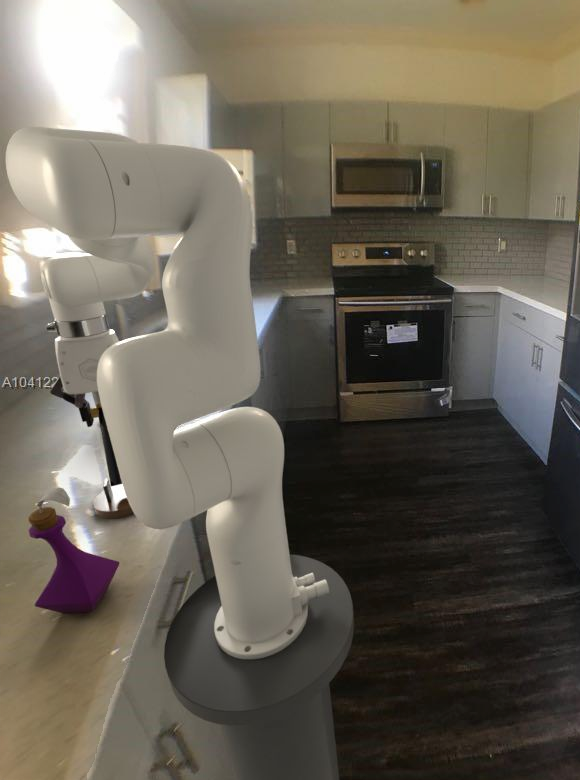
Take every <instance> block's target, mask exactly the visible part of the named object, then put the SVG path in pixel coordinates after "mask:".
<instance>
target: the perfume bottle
mask: <svg viewBox="0 0 580 780" xmlns="http://www.w3.org/2000/svg"><path fill="white" fill-rule="evenodd" d="M45 501H54V502H57V503H60V504H62V505H64V506H67V507H70V502H71V498H70V496H69V494H68V492H67V491H66V489H64V488H63V487H60V486H59V487H55V488H53V489H52V490H50V491H49V492H47V493H46V494H44V495H43V496H42V497H41V498H40V500H39V501H38V502H37V503H36V506H37V507H38V508H37V509H36V510H34V511H32V512H31V514H30V515H29V516H28V518H27V520H28V522H29V524H30V525H31V526H30V527H29V528H28V534H29V537H30V538H32V539H40V540H41V539H42V540H43V541H46V543H47V544H48V545H49V546H50V547H51V549H52V550H53V552H54V554H55V558H56V566H55V568H54V569H53V573H52V574H51V577H50V578H49V580H48V582H47V583H46V585H45V587H44V589H43V590H42V592H41V593H40V595H39V596H38V598H37V599H36V601H35V603H34V607H36V608H39V609H44V610H48V611H52V612H56V613H61V614H74V613H75V614H77V613H91V612H93V611H94V610H95V609H96V607H97V606H98V604H99V602H100V601H101V600H102V598H103V597H104V595H105V594H106V592H107V591H108V589H109V588H110V585H111V583H112V581H113V579H114V576H115V574H116V573H117V571H118V569H119V566H120V561H118V560H115V559H111V558H107V557H104V556H101V555H96V554H93V553H90V552H86V551H84V550H82V549H80V548H78V547H77V546H76V545H75V544H74V543H72V542H71V541H70V540H69V538H68V537H67V536H66V535H65V533H64V531H63V528H64V527H65V525H66V524H67V521H66V518H65V516H62V515H60V514H57V510H56V508H54V507H52V506H45V507H43V504H44V502H45Z"/></svg>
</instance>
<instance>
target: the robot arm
mask: <svg viewBox="0 0 580 780" xmlns="http://www.w3.org/2000/svg"><path fill="white" fill-rule="evenodd" d="M5 168H6V173H7V179H8V181H9V185H10V187H11V190H12V192H13V194H14V195H15V197H16V198H17V200H18V202H19V203H20V204H21V206H22V207H23V208H24V209H25V210H26V211H27V212H28V213H30V214H31V215H33V217H35V218H37V219H38V220H40V221H41V222H43V223H45V224H46V225H48V226H50V227H52V228H53V229H56V230H57V231H58V232H61V233H62V234H64V235H66V236H67V237H68V238H69V239H70V240H71V242H72V243H73V244H74V245H75V246H76V247H78V248H79V250H81V251H83V252H84V253H82V252H63V253H62V252H61V253H52V254H46V255H44V256H42V257H41V258H40V259H39V261H38V267H39V271H40V272H39V273H40V274H39V276H40V282H41V286H42V288H43V292H44V293H45V295H46V296H47V297H48V301H49V304H50V309H51V312H52V315H53V318H54V321H52V322H51V323H46V324H45V326H46V327H45V328H46V331H47V332H48V333H51V332H53V333H56V334H57V337H56V338H55V339H54V349H55V357H56V362H57V367H58V372H59V377H58V378H57V380H56V382H55V383H54V384H53V386H52V387H51V389H50V391H49V393H50V394H51V395H53V396H54V397H57V398H59V399H63V400H64V401H65V402H68V403H69V404H72V405H73V406H74V407H75V408H76V409H78V412H79V414H80V418H81V421H82V422H84V423H86V426H87V428H90V427H92V426H93V425H94V421H95V418H92V417H91V413H90V408H91V404H90V401H88V400H87V399H86V394H90V393H92V392H96V391H98V392H99V397H100V402H101V406H102V410H103V413H104V417H105V421H106V425H107V428H108V432H109V436H110V439H111V443H112V447H113V451H114V454H115V458H116V462H117V466H118V470H119V473H120V477H121V481H122V484H123V487H124V491H125V494H126V497H127V500H128V502H129V505H130V506H131V508H132V510H133V512H134V513H133V514H134V516H135V517H136V518H137V520H138V521H139V522H140V523H142V524H143V525H144V526H145V527H147V528H149V529H150V528H151V529H154V530H166V529H169V528H172V527H176V526H178V525H180V524H182V523H184V522H186V521H189V520H191V519H193V518H194V517H197V516H199V515H200V514H203V513H204V512H206V517H205V528H206V529H205V531H206V536H207V542H208V546H209V551H210V556H211V560H212V565H213V570H214V571H213V572H214V576H215V575H216V580H217V585H218V590H219V594H220V599H221V604H222V606H221V607H220V609H219V611H218V613H217V615H216V619H215V622H214V632H215V637H216V640H217V643H218V645H219V646H220V647H221V649H222V650H223V651H224V652H226V653H227V654H228V655H231V656H233V657H235V658H240V659H259V658H264V657H267V656H270V655H273V654H275V653H277V652H279V651H281V650H283V649H284V648H285V647H287V646H288V645H290V644H291V643H292V642H293V641H294V640H295V639H296V638H297V637H298V635H299V634H300V633H301V631H302V630H303V628H304V626H305V624H306V620H307V617H308V606H307V604H308V600H310V599H312V598H315V597H320V596H322V595H325V594H328V593H329V588H328V584H327V581H326V580H322V581H319V582H317V583H314V584H313V585H311V586H308V587H304V585H308V584H311V583H313V582H315V578H314V575H313V573H310V574H307V575H305V576H303V577H300V578H298V579H297V577H294V578H293V575H292V570H291V562H290V555H291V554H290V548H289V540H288V533H287V525H286V516H285V507H284V500H283V499H284V498H283V473H284V464H285V443H284V436H283V433H282V430H281V427H280V425H279V424H278V422H277V420H276V419H275V418H274V417H273V415H271V414H270V413H269V412H268V411H266V410H264V409H262V408H259V407H255V406H239V407H235V408H231V409H227V408H229V407H232V406H234V405H236V404H240V403H241V402H243V401H245V400H247V399H250V397H252V396H253V395H254V394H255V393H256V392H257V390H258V389H259V386H260V382H261V375H262V374H261V372H262V371H261V358H260V349H259V341H258V333H257V325H256V324H257V323H256V317H255V308H254V301H253V294H252V289H251V276H250V273H251V271H250V269H251V255H252V254H251V253H252V252H251V251H252V243H253V241H252V240H253V213H252V205H251V199H250V195H249V192H248V188H247V186H246V184H245V182H244V179H243V178H242V176H241V174H240V172H239V171H238V170H237V168H236V167H235V166H234V165H233V164H232V163H231V162H230V161H229V160H228V159H226V158H225V157H223V156H222V155H220V154H218V153H215V152H213V151H209V150H206V149H202V148H197V147H191V146H187V145H186V146H185V145H175V144H165V143H149V142H139V141H137V140H135V139H134V138H132V137H131V138H130V137H129V136H125V135H121V134H118V133H112V132H105V131H93V130H83V129H82V130H80V129H68V128H55V127H45V126H43V127H42V126H25V127H22V128H20V129H17V130H16V131H15V132H14V133H13V134H12V135H11V137H10V139H9V140H8V143H7V146H6V150H5ZM166 235H167V236H168V235H182V236H181V237H180V239H179V241H178V242H177V243H176V245H175V246H174V248H173V250H172V252H171V253H170V256H169V258H168V259H167V262H166V265H165V268H164V270H163V274H162V278H161V279H162V280H161V289H162V293H163V298H164V299H163V300H164V303H165V308H166V313H167V314H166V315H167V326H166V327H165V329H164V330H160V331H156V332H151V333H147V334H143V335H142V334H141V335H137V336H133V337H130V338H126V339H123V340H119V337H118V336H117V334H116V332H115V330H114V329H110V325H109V321H108V316H107V314H106V309H105V306H104V302H109V301H110V302H111V301H117V300H125V299H132V298H135V297H138V296H139V295H141V294H143V293H144V292H145V291H146V290H147V288H148V287H149V285H150V284H151V281H152V280H153V278H154V275H155V269H156V265H155V264H156V263H155V262H156V261H155V255H154V251H153V248H152V246H151V243H150V241H149V240H148V238H147V237H157V236H166ZM224 409H227V410H224ZM222 410H224V411H222ZM219 411H221V412H219ZM217 412H218V413H217ZM214 413H215V414H214ZM210 414H213V415H210ZM208 415H210V416H208ZM206 416H207V417H206ZM203 417H204V418H203ZM199 418H202V419H199ZM197 419H199V420H197ZM194 420H196V421H194ZM192 421H194V422H192ZM189 422H191V423H189ZM186 423H189V424H187V425H185V424H186ZM182 425H183V426H182ZM179 426H181V427H179ZM178 427H179V428H178Z"/></svg>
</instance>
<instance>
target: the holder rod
mask: <svg viewBox="0 0 580 780" xmlns="http://www.w3.org/2000/svg"><path fill="white" fill-rule="evenodd" d="M90 413H91V417H92V418H94V419H96V418H97V419H98V423H99V428H100V433H101V434H100V435H101V440H102V445H103V450H104V455H105V461H106V467H107V472H108V480H109V483H110V486H117V485H121V484H122V481H121V477H120V473H119V470H118V466H117V462H116V458H115V454H114V451H113V447H112V443H111V439H110V436H109V432H108V428H107V425H106V421H105V417H104V413H103V410H102V406H101V403H99V404H96V406H92V407H90Z"/></svg>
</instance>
